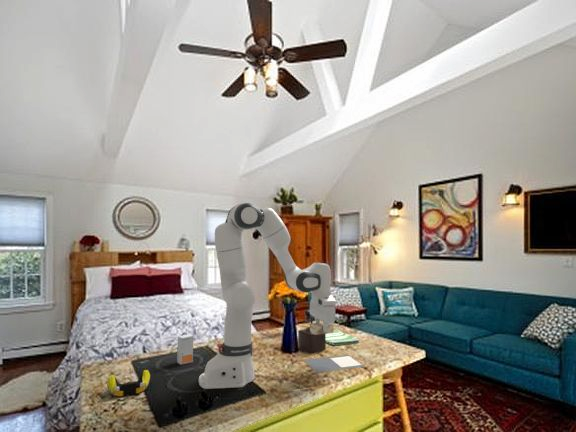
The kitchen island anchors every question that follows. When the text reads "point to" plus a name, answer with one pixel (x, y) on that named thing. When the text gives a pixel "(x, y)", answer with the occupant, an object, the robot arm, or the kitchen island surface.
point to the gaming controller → (128, 385)
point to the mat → (333, 363)
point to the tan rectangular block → (320, 328)
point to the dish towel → (340, 338)
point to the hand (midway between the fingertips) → (321, 329)
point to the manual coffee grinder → (311, 338)
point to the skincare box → (185, 349)
